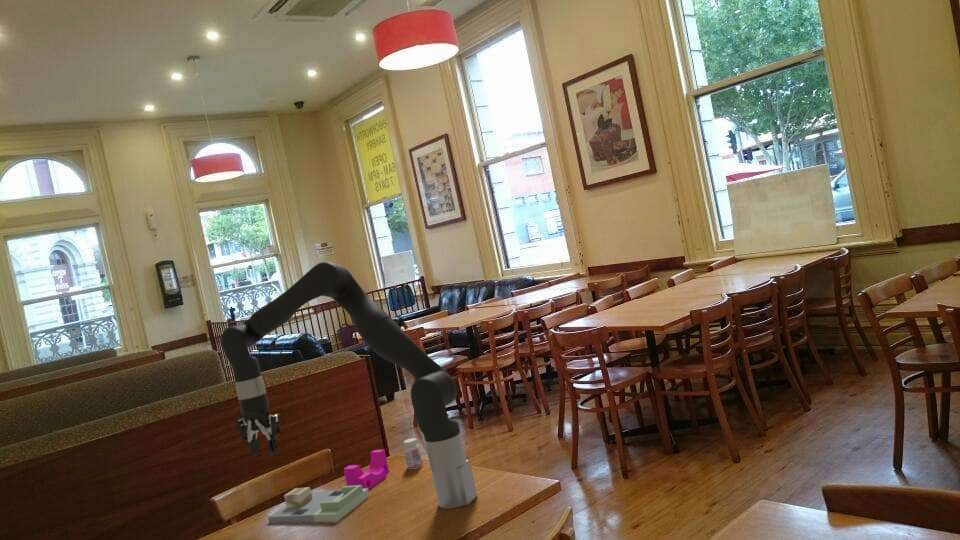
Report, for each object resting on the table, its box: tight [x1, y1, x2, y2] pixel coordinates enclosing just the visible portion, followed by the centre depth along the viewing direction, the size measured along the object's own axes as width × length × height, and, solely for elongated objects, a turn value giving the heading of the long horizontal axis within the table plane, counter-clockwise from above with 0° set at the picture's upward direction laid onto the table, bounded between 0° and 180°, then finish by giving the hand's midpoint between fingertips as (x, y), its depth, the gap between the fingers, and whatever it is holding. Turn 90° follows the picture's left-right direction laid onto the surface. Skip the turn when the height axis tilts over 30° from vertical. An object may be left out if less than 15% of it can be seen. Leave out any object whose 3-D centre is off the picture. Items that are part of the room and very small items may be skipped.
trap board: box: [267, 485, 371, 524], centre depth 184 cm, size 22×16×4 cm
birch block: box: [283, 486, 312, 508], centre depth 186 cm, size 5×5×4 cm
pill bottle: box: [403, 437, 424, 470], centre depth 205 cm, size 5×5×8 cm
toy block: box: [343, 449, 390, 490], centre depth 199 cm, size 15×6×8 cm, turn 151°
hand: (265, 452), depth 189 cm, fingers open, 5 cm apart
